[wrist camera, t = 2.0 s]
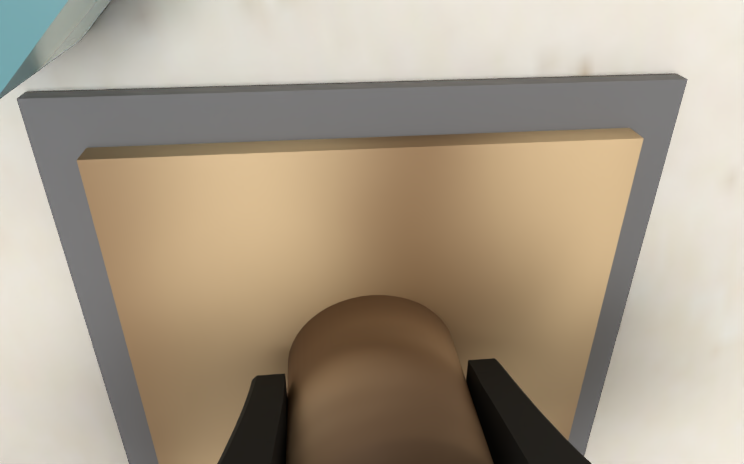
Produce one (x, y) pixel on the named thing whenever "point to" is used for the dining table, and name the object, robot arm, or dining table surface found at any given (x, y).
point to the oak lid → (358, 282)
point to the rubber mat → (331, 121)
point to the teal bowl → (40, 34)
